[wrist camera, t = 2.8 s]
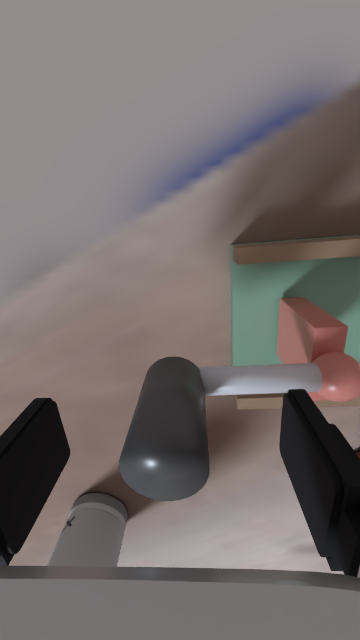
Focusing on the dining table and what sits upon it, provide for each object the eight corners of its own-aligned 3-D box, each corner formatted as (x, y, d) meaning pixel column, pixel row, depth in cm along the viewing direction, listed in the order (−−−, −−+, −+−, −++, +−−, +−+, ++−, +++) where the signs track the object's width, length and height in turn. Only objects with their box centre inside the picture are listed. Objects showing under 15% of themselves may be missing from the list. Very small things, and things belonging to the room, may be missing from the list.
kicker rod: (308, 296, 18) (486, 406, 7) (303, 352, 19) (442, 514, 9) (157, 305, 19) (108, 417, 8) (163, 358, 20) (129, 514, 9)
